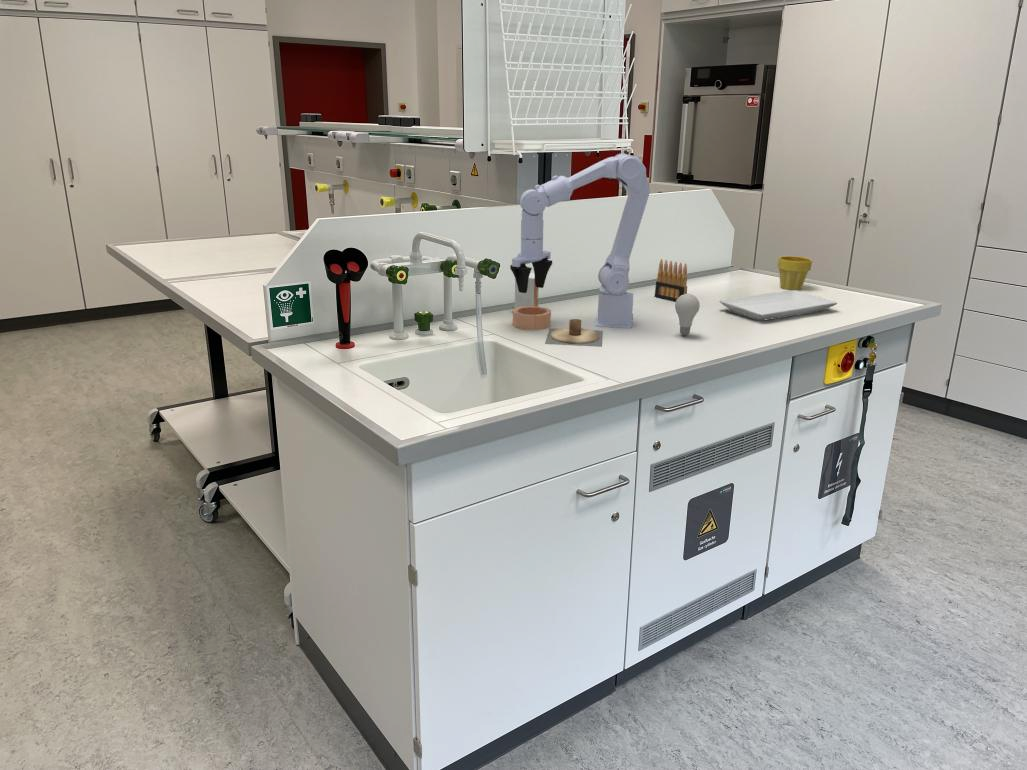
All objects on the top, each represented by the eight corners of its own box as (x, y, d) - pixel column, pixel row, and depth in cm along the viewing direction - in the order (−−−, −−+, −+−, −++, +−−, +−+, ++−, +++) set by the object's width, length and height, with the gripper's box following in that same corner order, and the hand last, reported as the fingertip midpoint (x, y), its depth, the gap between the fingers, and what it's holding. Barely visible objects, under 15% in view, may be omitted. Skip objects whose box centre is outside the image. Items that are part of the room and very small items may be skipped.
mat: (602, 331, 199) (602, 330, 198) (602, 347, 186) (602, 346, 185) (549, 329, 200) (549, 328, 200) (544, 344, 187) (544, 343, 187)
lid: (598, 331, 198) (599, 315, 196) (598, 345, 186) (599, 328, 185) (552, 329, 199) (553, 313, 198) (549, 342, 188) (549, 325, 186)
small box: (533, 315, 214) (534, 278, 210) (514, 314, 215) (514, 277, 211) (538, 308, 221) (539, 272, 217) (519, 307, 222) (520, 271, 218)
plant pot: (812, 287, 251) (816, 258, 248) (801, 293, 244) (806, 262, 240) (781, 283, 257) (785, 254, 254) (770, 288, 250) (774, 258, 246)
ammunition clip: (686, 302, 230) (690, 263, 226) (682, 303, 228) (686, 264, 224) (657, 296, 237) (660, 258, 233) (654, 297, 236) (657, 258, 232)
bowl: (551, 321, 208) (552, 307, 206) (548, 331, 198) (549, 316, 197) (515, 319, 209) (515, 305, 207) (510, 329, 199) (511, 314, 198)
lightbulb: (682, 340, 192) (686, 297, 189) (667, 334, 197) (671, 292, 194) (701, 337, 195) (705, 295, 191) (686, 331, 200) (689, 290, 196)
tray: (837, 312, 222) (839, 301, 221) (759, 325, 208) (761, 313, 206) (792, 300, 236) (794, 289, 235) (716, 311, 221) (717, 300, 220)
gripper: (535, 233, 203) (534, 283, 208) (502, 240, 192) (502, 292, 197) (557, 235, 199) (556, 286, 204) (525, 243, 188) (524, 296, 193)
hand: (531, 289), depth 200 cm, fingers open, 7 cm apart
